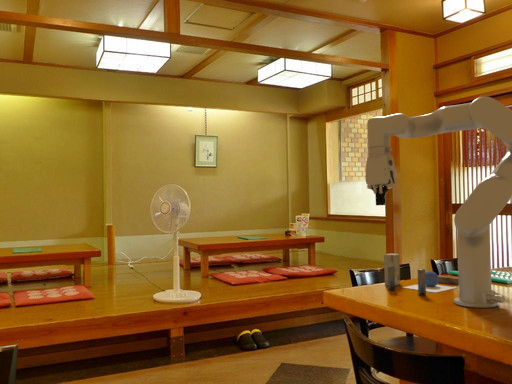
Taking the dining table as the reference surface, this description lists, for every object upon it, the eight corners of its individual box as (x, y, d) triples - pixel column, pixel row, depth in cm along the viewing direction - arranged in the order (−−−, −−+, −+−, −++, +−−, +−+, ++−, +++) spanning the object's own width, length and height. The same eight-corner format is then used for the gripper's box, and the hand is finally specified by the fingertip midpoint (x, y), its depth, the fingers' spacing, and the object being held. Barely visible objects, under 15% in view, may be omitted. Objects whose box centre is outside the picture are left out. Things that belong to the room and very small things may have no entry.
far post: (396, 290, 175) (396, 266, 176) (392, 291, 174) (391, 266, 174) (391, 289, 177) (390, 265, 178) (386, 290, 176) (386, 266, 176)
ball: (439, 269, 179) (431, 278, 176) (443, 282, 181) (434, 291, 178) (425, 267, 184) (417, 275, 181) (428, 280, 186) (420, 288, 183)
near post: (427, 295, 165) (426, 269, 165) (423, 296, 163) (422, 270, 163) (421, 294, 167) (420, 268, 167) (416, 295, 165) (416, 269, 165)
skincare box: (395, 286, 184) (394, 255, 184) (384, 285, 186) (383, 254, 187) (400, 284, 189) (399, 253, 189) (390, 283, 191) (389, 253, 192)
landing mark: (457, 288, 177) (457, 287, 177) (435, 292, 169) (435, 292, 169) (424, 283, 188) (424, 283, 188) (402, 287, 180) (402, 287, 180)
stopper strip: (471, 286, 181) (470, 279, 181) (468, 286, 179) (468, 280, 180) (434, 281, 194) (433, 274, 194) (431, 281, 192) (431, 275, 193)
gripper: (403, 151, 160) (405, 204, 160) (369, 155, 172) (371, 205, 172) (389, 149, 156) (391, 205, 155) (355, 154, 168) (357, 205, 167)
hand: (380, 205), depth 164 cm, fingers closed
